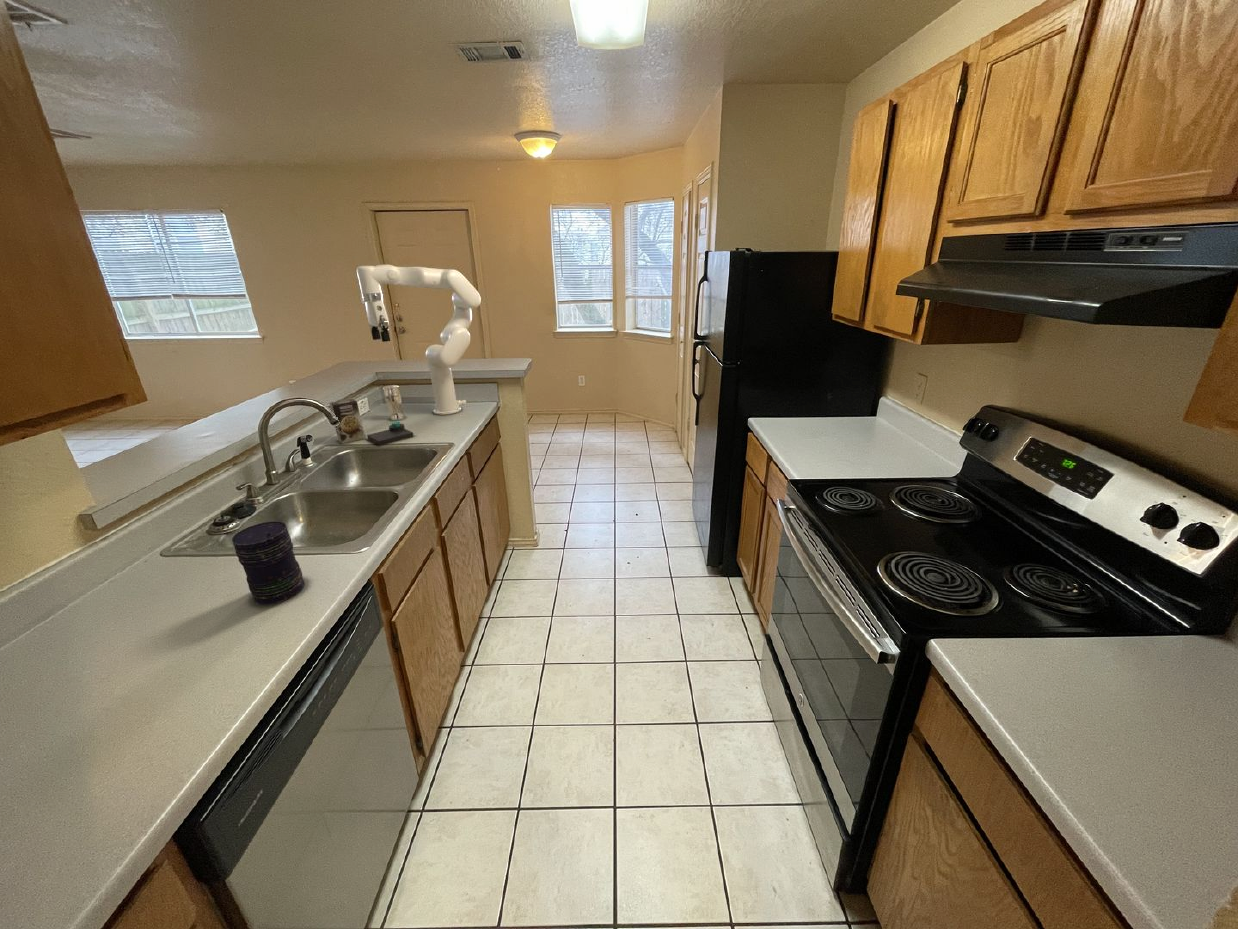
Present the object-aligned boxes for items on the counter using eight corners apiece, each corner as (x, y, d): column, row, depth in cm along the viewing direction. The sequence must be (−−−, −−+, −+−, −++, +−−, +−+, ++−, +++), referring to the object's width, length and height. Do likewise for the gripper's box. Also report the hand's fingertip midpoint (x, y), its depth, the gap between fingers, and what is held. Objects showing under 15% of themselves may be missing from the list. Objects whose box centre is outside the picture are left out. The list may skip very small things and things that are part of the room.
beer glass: (386, 420, 233) (379, 388, 227) (396, 415, 239) (390, 384, 234) (398, 421, 231) (392, 388, 226) (408, 416, 237) (402, 385, 232)
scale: (401, 430, 218) (400, 422, 217) (414, 436, 210) (413, 428, 209) (367, 439, 209) (365, 430, 207) (379, 445, 201) (377, 437, 199)
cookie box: (342, 444, 204) (332, 405, 198) (338, 440, 208) (328, 402, 202) (366, 438, 209) (357, 400, 203) (361, 435, 214) (352, 397, 208)
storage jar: (242, 599, 110) (219, 540, 104) (285, 574, 118) (265, 518, 112) (274, 609, 106) (252, 548, 100) (315, 583, 115) (297, 525, 109)
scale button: (398, 424, 215) (397, 421, 214) (401, 426, 213) (400, 422, 212) (391, 426, 213) (390, 423, 212) (394, 428, 211) (393, 424, 211)
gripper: (390, 297, 204) (399, 340, 211) (373, 296, 216) (382, 337, 222) (371, 299, 200) (380, 343, 206) (355, 298, 211) (364, 339, 217)
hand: (381, 340), depth 214 cm, fingers open, 9 cm apart
